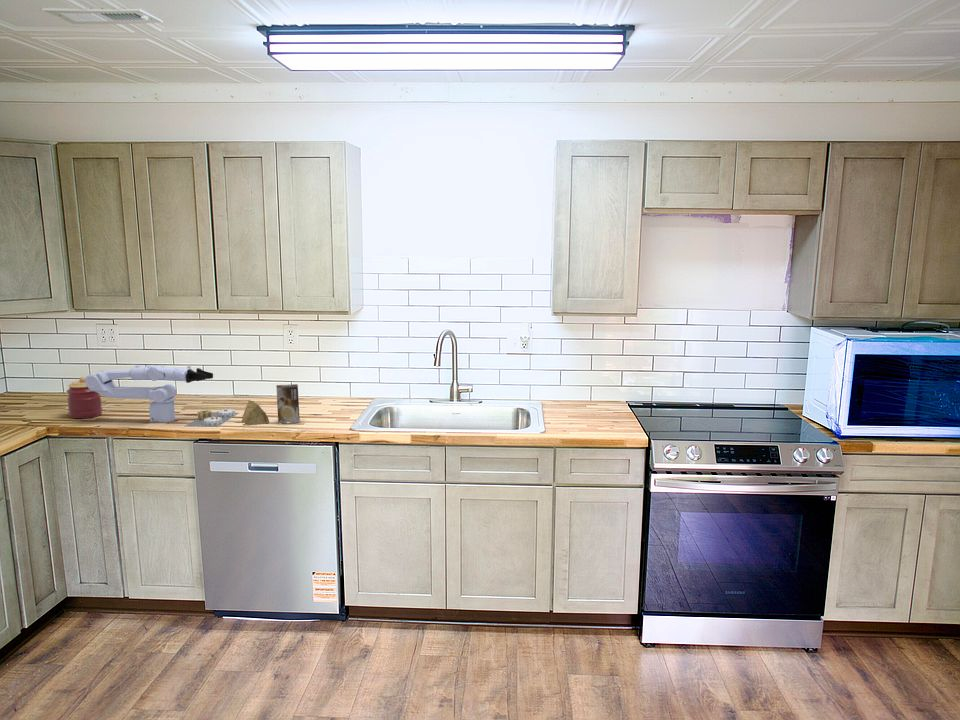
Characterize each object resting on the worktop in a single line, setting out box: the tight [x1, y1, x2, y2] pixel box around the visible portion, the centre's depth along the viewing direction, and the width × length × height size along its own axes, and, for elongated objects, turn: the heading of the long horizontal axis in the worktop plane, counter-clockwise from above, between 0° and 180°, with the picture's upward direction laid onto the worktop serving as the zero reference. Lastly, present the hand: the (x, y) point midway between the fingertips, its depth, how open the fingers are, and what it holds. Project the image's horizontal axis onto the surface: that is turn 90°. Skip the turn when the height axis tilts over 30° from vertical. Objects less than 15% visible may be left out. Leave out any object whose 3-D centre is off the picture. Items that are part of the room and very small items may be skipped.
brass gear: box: [196, 409, 212, 420], centre depth 287 cm, size 6×6×3 cm
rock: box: [241, 400, 270, 426], centre depth 283 cm, size 11×9×10 cm
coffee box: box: [275, 383, 301, 424], centre depth 287 cm, size 9×6×16 cm
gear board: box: [185, 408, 239, 428], centre depth 286 cm, size 14×24×4 cm, turn 179°
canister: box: [66, 376, 103, 419], centre depth 292 cm, size 13×13×18 cm
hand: (209, 376), depth 282 cm, fingers open, 7 cm apart
